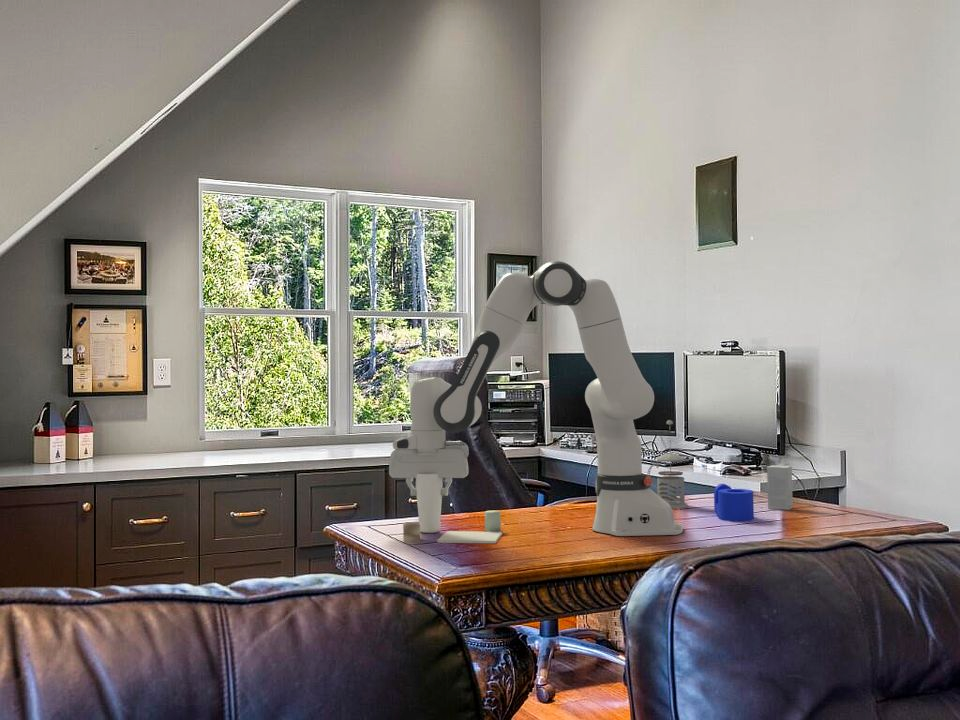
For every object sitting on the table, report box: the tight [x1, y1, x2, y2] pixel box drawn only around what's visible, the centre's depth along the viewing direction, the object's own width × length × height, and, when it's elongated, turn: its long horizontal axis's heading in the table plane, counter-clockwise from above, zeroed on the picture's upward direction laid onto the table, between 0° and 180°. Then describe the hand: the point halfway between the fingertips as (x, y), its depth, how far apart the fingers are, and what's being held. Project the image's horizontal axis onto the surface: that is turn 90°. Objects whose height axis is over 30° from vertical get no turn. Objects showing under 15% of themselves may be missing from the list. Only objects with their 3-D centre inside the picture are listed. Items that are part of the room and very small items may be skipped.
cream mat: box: [437, 530, 503, 544], centre depth 233 cm, size 14×12×1 cm
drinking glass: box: [415, 473, 443, 534], centre depth 243 cm, size 7×7×15 cm
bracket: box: [713, 483, 755, 523], centre depth 260 cm, size 20×9×8 cm, turn 179°
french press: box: [647, 419, 689, 509], centre depth 279 cm, size 10×12×25 cm
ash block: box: [402, 521, 421, 543], centre depth 232 cm, size 4×4×4 cm
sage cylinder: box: [484, 510, 502, 532], centre depth 242 cm, size 4×4×5 cm
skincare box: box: [766, 464, 794, 511], centre depth 270 cm, size 6×4×12 cm
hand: (429, 495), depth 243 cm, fingers closed on drinking glass, 7 cm apart
